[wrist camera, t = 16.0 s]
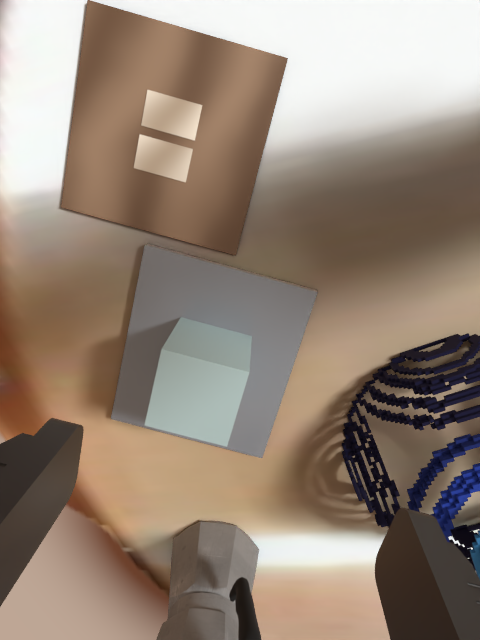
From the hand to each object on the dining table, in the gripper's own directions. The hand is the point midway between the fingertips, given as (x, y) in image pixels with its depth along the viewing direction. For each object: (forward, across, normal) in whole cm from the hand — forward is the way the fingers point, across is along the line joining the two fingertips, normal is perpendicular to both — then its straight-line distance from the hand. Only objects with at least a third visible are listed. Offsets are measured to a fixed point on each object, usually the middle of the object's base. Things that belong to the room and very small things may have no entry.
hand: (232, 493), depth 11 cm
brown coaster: (+25, +9, -8) cm, 28 cm away
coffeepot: (+25, -3, +28) cm, 38 cm away
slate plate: (+25, +3, +8) cm, 26 cm away
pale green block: (+24, +3, +8) cm, 25 cm away
